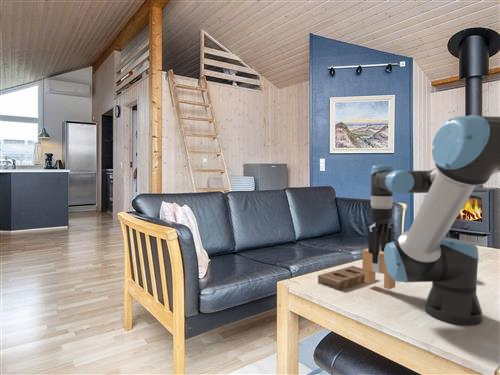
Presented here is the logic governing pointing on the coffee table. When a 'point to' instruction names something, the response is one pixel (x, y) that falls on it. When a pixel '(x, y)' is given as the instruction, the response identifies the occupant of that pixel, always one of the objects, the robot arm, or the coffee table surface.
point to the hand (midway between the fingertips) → (379, 270)
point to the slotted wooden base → (342, 277)
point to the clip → (370, 275)
